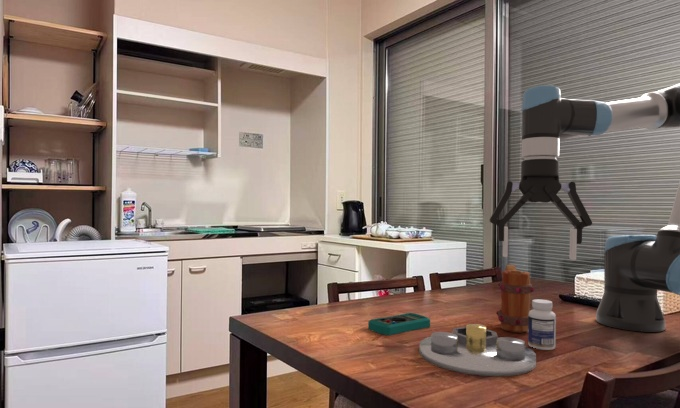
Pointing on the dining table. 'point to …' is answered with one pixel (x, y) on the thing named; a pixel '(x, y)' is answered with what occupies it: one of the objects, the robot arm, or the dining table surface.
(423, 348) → the carrier
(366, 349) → the dining table surface
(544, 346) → the pill bottle
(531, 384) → the dining table surface
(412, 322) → the digital multimeter
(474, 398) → the dining table surface
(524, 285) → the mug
